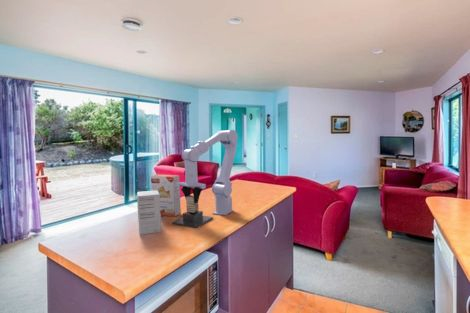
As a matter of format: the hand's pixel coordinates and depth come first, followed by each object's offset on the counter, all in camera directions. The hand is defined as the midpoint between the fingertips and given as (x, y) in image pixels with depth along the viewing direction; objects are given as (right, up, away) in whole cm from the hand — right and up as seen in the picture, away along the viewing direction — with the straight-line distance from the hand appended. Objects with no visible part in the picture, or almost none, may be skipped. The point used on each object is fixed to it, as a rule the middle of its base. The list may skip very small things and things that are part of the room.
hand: (192, 202), depth 127 cm
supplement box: (-17, -11, -9) cm, 22 cm away
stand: (0, -9, +1) cm, 9 cm away
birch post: (0, -4, 0) cm, 4 cm away
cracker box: (-16, -9, +13) cm, 23 cm away
